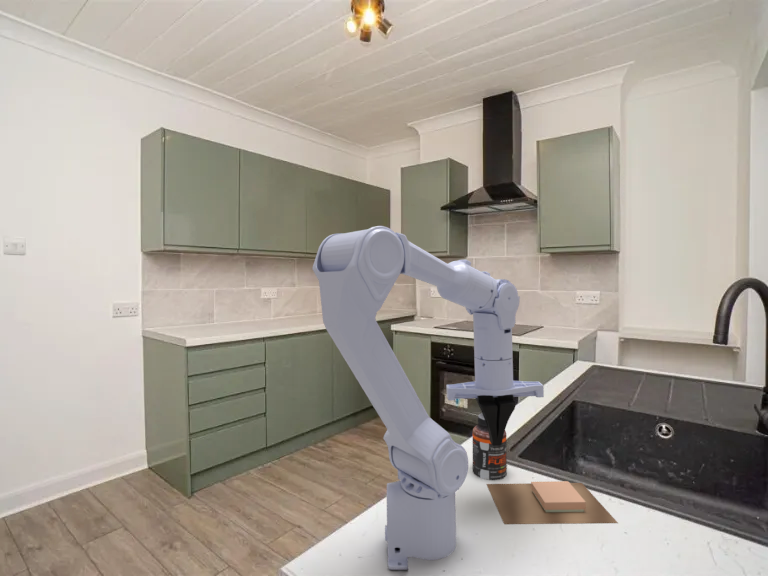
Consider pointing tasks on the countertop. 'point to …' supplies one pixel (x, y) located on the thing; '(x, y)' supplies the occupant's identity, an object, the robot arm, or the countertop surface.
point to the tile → (558, 496)
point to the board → (526, 509)
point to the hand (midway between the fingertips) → (495, 443)
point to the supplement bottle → (488, 453)
